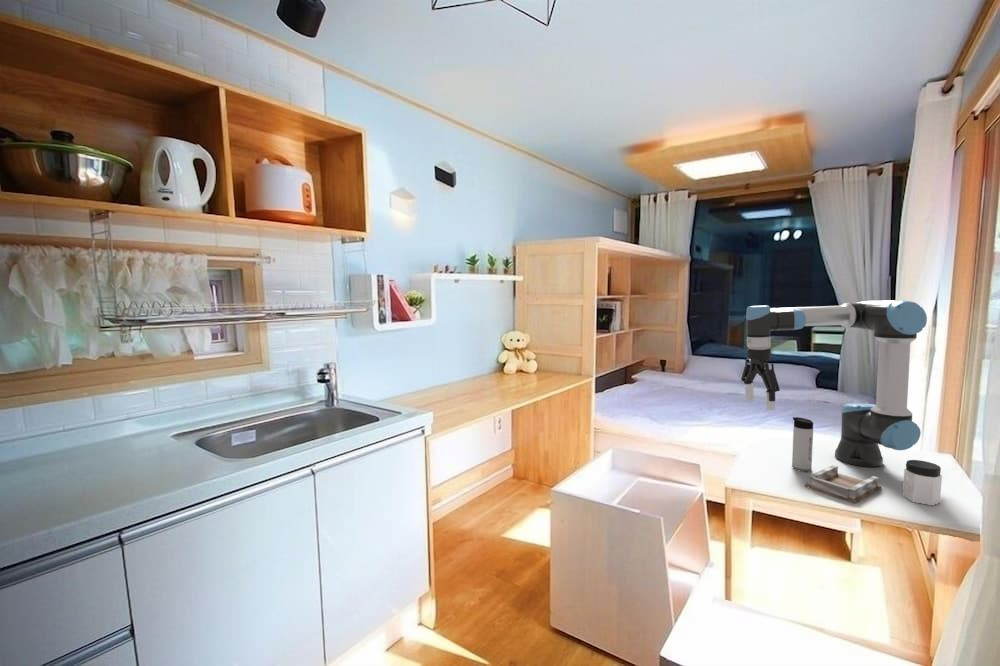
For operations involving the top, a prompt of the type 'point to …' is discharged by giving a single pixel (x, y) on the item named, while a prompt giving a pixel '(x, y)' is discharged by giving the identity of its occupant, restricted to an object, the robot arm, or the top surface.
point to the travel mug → (802, 444)
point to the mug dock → (842, 485)
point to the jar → (922, 482)
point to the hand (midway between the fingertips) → (759, 405)
